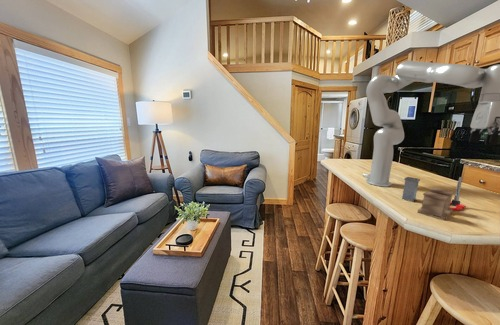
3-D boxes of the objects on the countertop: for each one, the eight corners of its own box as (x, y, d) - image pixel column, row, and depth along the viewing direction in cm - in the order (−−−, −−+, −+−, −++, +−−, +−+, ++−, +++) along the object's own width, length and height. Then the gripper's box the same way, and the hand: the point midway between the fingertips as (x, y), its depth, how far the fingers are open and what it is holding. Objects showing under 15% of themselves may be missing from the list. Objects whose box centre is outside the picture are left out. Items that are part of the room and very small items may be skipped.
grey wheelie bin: (400, 199, 97) (404, 178, 95) (404, 197, 100) (408, 176, 98) (412, 202, 94) (417, 180, 92) (416, 200, 96) (420, 179, 94)
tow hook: (452, 212, 85) (468, 209, 87) (458, 181, 82) (474, 179, 84) (429, 204, 93) (445, 202, 95) (434, 176, 90) (450, 174, 92)
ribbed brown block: (417, 212, 82) (421, 192, 81) (426, 205, 91) (430, 186, 89) (444, 220, 76) (449, 199, 75) (452, 211, 84) (456, 192, 83)
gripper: (467, 101, 90) (457, 141, 94) (496, 97, 74) (484, 145, 78) (490, 101, 88) (479, 142, 91) (526, 97, 72) (511, 147, 75)
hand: (481, 143), depth 84 cm, fingers open, 9 cm apart
